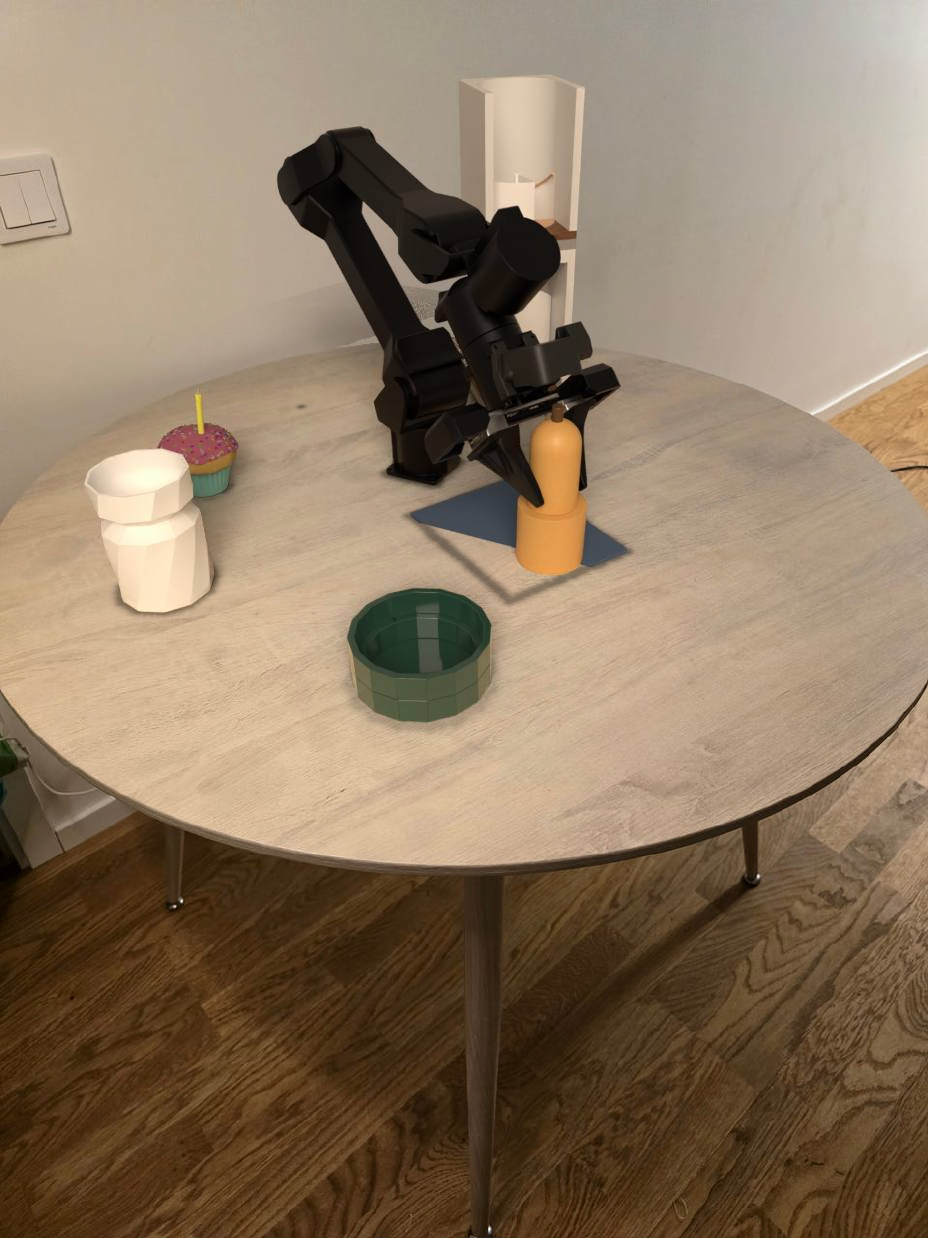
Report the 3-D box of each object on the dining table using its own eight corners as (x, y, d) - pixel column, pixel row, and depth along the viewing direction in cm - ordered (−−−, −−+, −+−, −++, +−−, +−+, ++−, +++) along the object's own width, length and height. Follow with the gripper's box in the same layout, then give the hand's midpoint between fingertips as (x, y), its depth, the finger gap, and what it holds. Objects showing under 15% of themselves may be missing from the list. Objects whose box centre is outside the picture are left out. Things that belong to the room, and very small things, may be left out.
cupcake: (258, 474, 98) (239, 373, 90) (218, 512, 92) (194, 406, 84) (193, 464, 100) (169, 364, 93) (150, 500, 94) (120, 396, 87)
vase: (130, 624, 77) (92, 508, 70) (113, 574, 83) (76, 462, 76) (226, 595, 80) (199, 481, 73) (203, 549, 86) (176, 440, 79)
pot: (327, 699, 69) (319, 652, 66) (398, 620, 77) (394, 575, 74) (451, 744, 65) (449, 696, 62) (513, 656, 73) (514, 609, 70)
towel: (410, 515, 90) (410, 512, 90) (518, 477, 96) (518, 474, 96) (510, 601, 79) (510, 598, 78) (627, 552, 84) (627, 548, 84)
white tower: (465, 380, 117) (458, 79, 96) (539, 371, 119) (550, 73, 97) (486, 415, 109) (485, 93, 87) (566, 405, 111) (584, 87, 89)
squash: (521, 577, 81) (526, 424, 71) (511, 539, 86) (515, 391, 76) (588, 573, 81) (603, 420, 71) (575, 535, 86) (587, 387, 76)
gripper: (436, 318, 67) (519, 501, 67) (617, 272, 75) (691, 435, 75) (392, 381, 77) (463, 540, 77) (555, 334, 85) (620, 479, 85)
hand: (562, 497), depth 78 cm, fingers closed on squash, 5 cm apart
